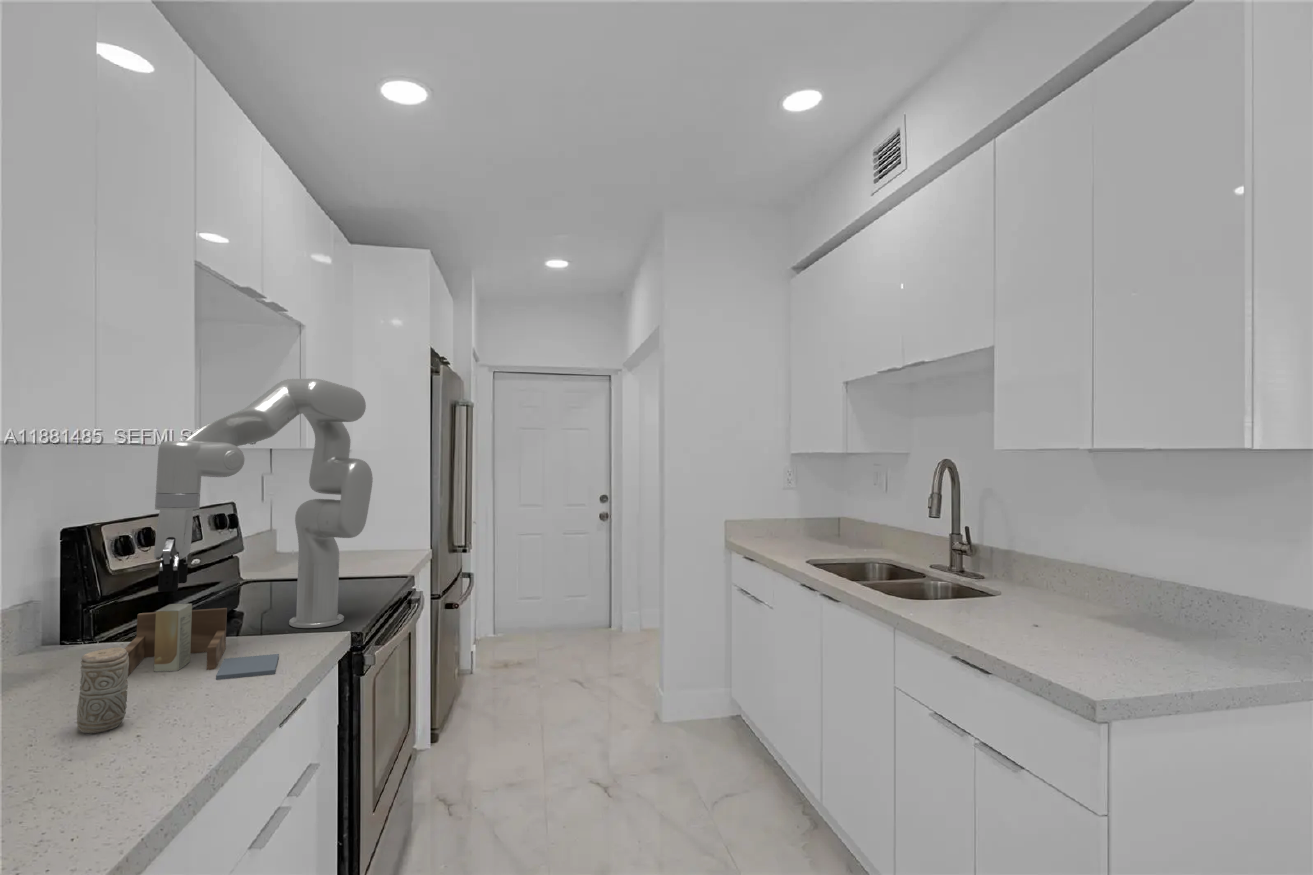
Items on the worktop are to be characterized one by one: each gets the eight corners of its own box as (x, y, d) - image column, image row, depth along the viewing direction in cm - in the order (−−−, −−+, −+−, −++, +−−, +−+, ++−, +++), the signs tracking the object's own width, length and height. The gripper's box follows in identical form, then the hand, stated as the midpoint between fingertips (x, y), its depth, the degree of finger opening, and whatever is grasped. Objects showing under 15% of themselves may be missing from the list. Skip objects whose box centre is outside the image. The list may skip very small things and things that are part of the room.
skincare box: (167, 663, 145) (169, 603, 145) (191, 662, 146) (193, 602, 146) (152, 672, 138) (154, 610, 139) (176, 671, 139) (179, 609, 140)
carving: (80, 740, 106) (83, 660, 107) (71, 726, 112) (74, 650, 112) (131, 728, 111) (134, 652, 111) (121, 716, 116) (124, 643, 117)
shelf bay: (137, 656, 149) (139, 613, 149) (225, 648, 156) (227, 607, 156) (117, 678, 135) (119, 631, 135) (215, 669, 141) (216, 624, 142)
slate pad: (224, 662, 146) (224, 658, 146) (278, 657, 150) (278, 653, 150) (215, 679, 135) (216, 675, 135) (274, 674, 139) (275, 669, 139)
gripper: (164, 499, 149) (159, 581, 148) (145, 504, 133) (139, 595, 132) (206, 500, 152) (201, 579, 151) (192, 504, 136) (187, 593, 136)
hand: (172, 587), depth 142 cm, fingers open, 9 cm apart
